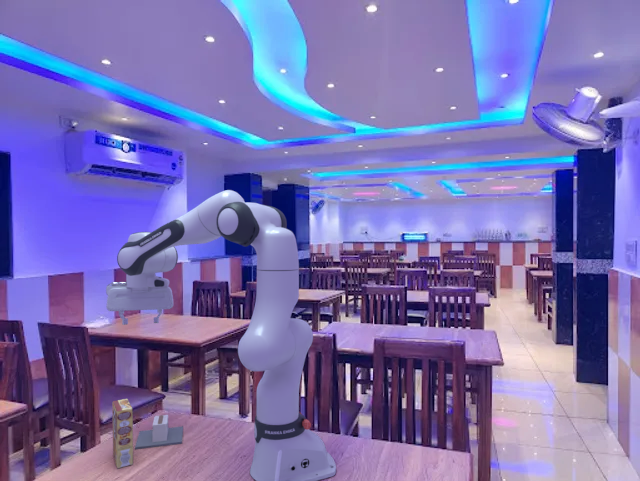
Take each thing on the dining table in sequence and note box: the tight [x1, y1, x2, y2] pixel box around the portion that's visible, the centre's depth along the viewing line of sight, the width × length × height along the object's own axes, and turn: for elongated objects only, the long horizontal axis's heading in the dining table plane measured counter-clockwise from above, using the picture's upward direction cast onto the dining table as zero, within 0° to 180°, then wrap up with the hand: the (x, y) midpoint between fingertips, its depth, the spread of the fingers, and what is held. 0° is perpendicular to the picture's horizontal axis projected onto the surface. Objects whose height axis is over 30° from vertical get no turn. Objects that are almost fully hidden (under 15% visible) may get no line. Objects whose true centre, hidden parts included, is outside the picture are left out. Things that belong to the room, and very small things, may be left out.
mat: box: [134, 425, 184, 450], centre depth 131 cm, size 13×11×1 cm
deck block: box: [151, 414, 169, 442], centre depth 131 cm, size 7×4×5 cm, turn 16°
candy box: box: [111, 398, 134, 469], centre depth 118 cm, size 9×4×15 cm, turn 33°
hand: (140, 323), depth 140 cm, fingers open, 8 cm apart
